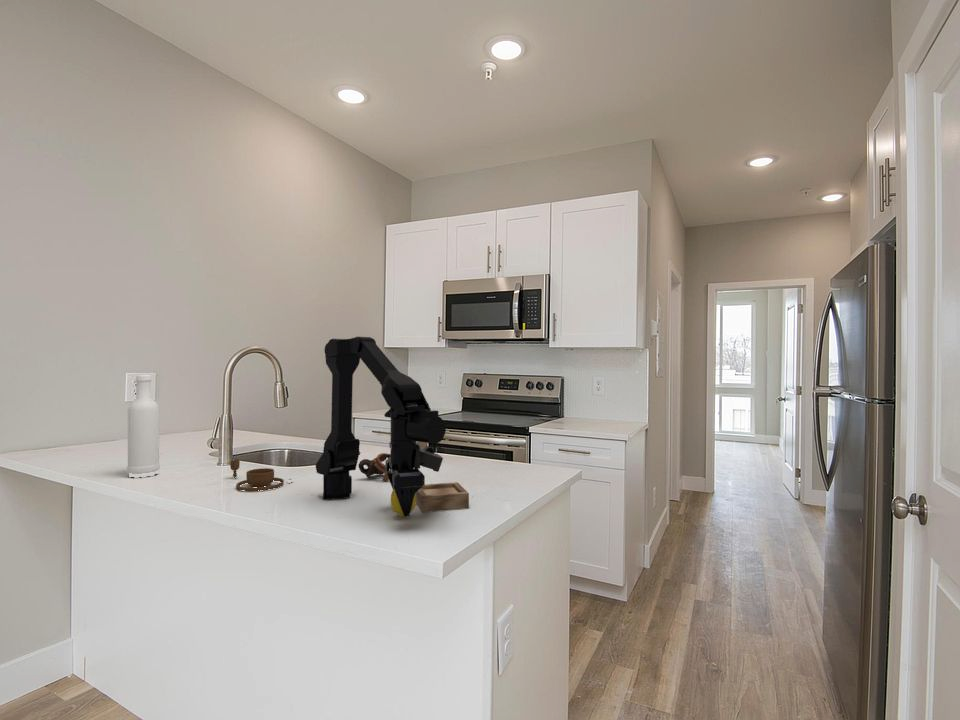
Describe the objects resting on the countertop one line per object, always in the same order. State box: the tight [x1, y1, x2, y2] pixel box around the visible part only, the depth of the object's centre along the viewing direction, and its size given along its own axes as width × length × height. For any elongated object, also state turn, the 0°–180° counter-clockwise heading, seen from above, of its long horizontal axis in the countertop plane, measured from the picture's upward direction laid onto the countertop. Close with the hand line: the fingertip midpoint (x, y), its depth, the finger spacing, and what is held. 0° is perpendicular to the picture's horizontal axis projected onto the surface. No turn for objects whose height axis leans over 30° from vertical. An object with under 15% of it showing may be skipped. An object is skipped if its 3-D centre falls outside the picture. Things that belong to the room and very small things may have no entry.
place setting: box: [229, 459, 292, 491], centre depth 141 cm, size 18×20×6 cm
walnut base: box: [416, 481, 470, 513], centre depth 121 cm, size 11×11×4 cm
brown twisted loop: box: [357, 452, 391, 483], centre depth 146 cm, size 12×10×8 cm
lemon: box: [390, 489, 417, 519], centre depth 110 cm, size 6×6×8 cm
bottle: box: [126, 374, 161, 474], centre depth 150 cm, size 8×8×30 cm
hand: (403, 509), depth 110 cm, fingers open, 9 cm apart
